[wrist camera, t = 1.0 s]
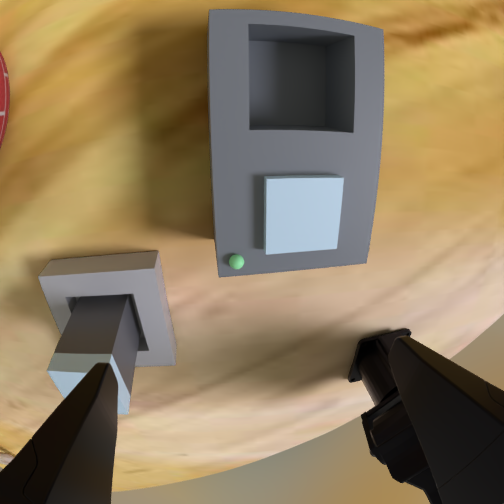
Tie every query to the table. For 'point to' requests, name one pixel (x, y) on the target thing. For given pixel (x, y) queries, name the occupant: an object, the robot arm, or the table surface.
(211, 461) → the table surface
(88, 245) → the table surface
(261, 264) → the grey dispenser box
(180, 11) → the table surface
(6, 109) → the torus
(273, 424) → the table surface
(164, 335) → the cradle
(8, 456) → the anime figure
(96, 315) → the plug
